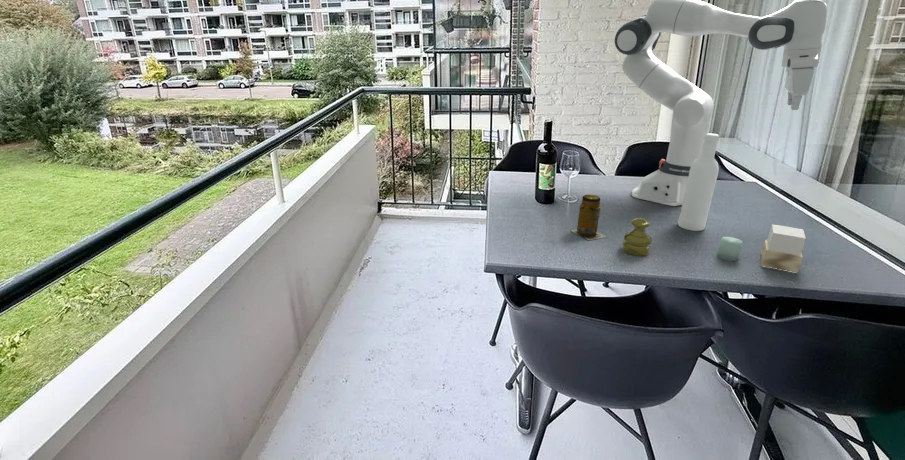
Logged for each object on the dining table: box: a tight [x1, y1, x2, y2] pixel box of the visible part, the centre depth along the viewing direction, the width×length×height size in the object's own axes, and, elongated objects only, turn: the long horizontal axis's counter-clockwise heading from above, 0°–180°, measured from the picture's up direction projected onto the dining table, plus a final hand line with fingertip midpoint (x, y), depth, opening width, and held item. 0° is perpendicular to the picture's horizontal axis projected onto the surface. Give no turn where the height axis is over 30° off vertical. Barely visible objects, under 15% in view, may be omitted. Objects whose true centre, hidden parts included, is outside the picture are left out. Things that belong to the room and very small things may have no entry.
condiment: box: [569, 194, 607, 241], centre depth 140 cm, size 7×8×12 cm
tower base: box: [760, 239, 804, 273], centre depth 124 cm, size 8×8×5 cm
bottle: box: [677, 132, 720, 232], centre depth 143 cm, size 8×8×30 cm
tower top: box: [766, 223, 807, 256], centre depth 122 cm, size 7×7×5 cm
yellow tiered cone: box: [621, 217, 653, 257], centre depth 129 cm, size 7×7×10 cm
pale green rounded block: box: [716, 236, 744, 262], centre depth 128 cm, size 5×5×5 cm
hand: (792, 107), depth 140 cm, fingers open, 8 cm apart
